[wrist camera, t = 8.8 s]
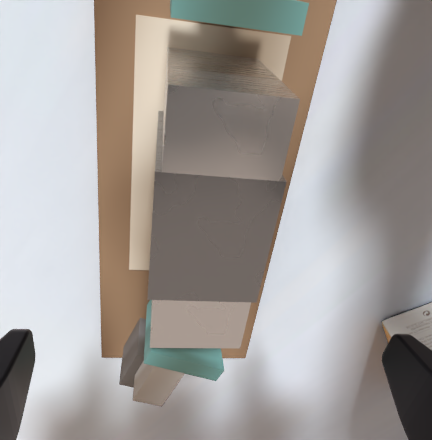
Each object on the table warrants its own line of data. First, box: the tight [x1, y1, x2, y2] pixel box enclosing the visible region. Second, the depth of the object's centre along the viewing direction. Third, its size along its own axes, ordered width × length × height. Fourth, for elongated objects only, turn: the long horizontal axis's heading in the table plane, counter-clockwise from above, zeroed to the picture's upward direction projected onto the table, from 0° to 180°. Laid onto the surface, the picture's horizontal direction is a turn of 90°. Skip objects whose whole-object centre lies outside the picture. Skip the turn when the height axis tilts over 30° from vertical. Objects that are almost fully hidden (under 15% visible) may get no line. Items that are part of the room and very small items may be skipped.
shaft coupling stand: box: [94, 0, 337, 406], centre depth 17 cm, size 9×26×6 cm, turn 173°
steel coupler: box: [147, 47, 300, 348], centre depth 16 cm, size 10×4×6 cm, turn 173°
